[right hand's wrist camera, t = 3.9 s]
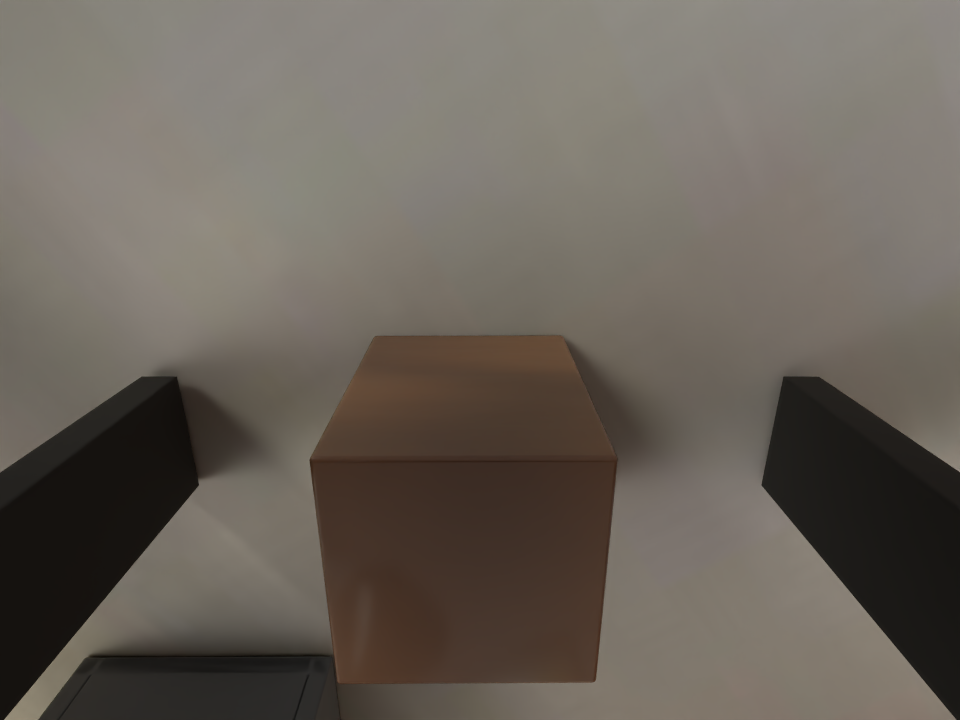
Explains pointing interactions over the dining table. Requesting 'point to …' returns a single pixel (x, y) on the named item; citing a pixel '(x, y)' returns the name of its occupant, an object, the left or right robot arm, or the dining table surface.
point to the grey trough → (199, 689)
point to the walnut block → (465, 514)
